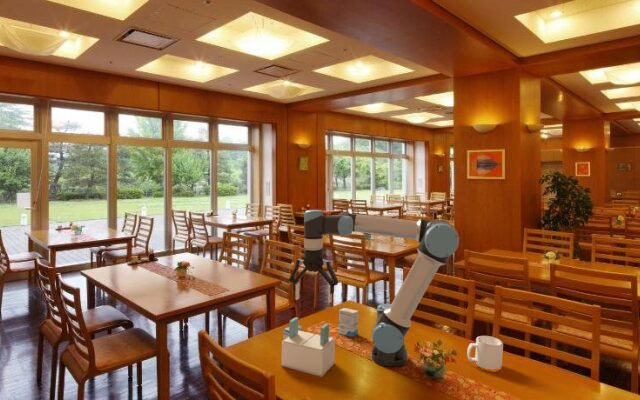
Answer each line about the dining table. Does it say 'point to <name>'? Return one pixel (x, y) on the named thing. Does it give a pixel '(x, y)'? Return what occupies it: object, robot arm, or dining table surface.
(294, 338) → the flap far
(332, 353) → the carton
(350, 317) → the ink box
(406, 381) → the dining table surface
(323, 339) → the flap near
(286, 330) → the medicine box
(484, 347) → the mug
